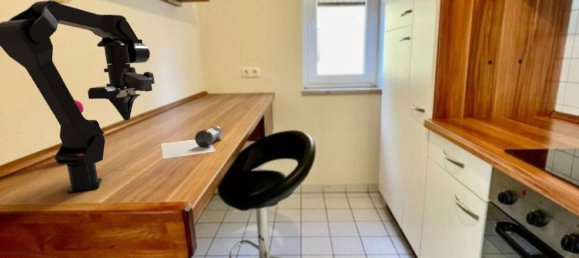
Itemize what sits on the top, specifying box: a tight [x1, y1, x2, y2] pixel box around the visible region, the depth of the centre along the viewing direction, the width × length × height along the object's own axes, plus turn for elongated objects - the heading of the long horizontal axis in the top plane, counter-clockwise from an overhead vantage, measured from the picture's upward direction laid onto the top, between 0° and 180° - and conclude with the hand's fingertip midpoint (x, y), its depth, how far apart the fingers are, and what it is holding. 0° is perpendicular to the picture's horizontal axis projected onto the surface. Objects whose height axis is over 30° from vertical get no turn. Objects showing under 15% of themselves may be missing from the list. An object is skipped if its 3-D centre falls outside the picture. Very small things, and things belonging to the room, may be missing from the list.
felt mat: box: [160, 139, 217, 160], centre depth 112 cm, size 20×16×1 cm
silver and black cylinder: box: [194, 125, 224, 147], centre depth 115 cm, size 6×6×11 cm
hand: (127, 120), depth 94 cm, fingers closed
